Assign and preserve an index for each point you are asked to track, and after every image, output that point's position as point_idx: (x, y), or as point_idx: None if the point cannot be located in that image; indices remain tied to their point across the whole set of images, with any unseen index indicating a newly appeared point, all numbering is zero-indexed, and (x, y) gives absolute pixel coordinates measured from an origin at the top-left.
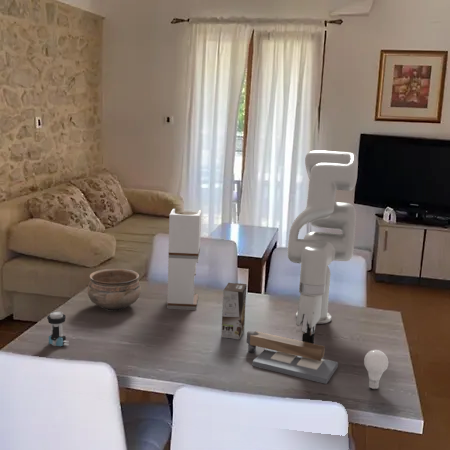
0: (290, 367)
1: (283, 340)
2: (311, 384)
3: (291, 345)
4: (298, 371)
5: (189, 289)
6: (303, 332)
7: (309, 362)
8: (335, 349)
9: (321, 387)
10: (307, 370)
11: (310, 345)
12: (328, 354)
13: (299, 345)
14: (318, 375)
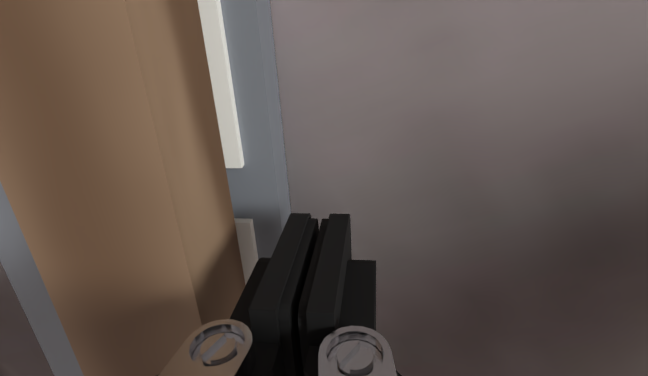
0: (3, 189)
1: (17, 56)
2: (21, 313)
3: (18, 195)
4: (2, 253)
5: None
6: (181, 359)
7: None
8: (601, 340)
9: (36, 355)
10: None
11: (153, 366)
12: (477, 316)
13: (65, 280)
14: (59, 356)
